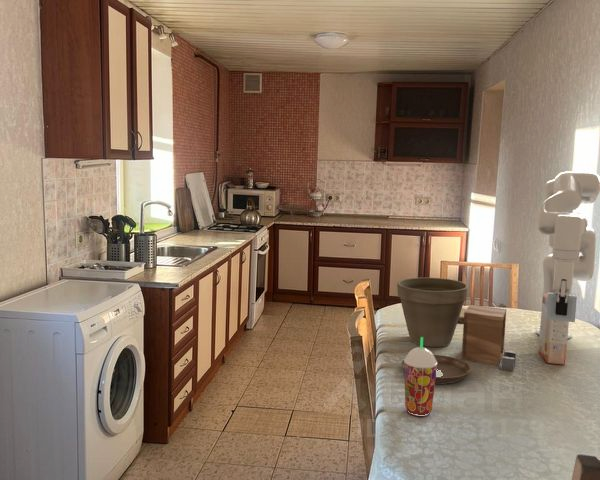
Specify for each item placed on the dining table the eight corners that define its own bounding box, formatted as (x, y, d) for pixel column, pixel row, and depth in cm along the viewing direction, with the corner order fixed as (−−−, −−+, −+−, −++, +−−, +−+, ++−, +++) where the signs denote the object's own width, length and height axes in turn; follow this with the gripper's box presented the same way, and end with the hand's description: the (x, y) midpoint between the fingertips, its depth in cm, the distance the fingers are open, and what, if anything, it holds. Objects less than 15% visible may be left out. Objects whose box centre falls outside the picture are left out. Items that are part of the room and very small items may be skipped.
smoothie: (398, 405, 149) (401, 332, 147) (428, 405, 150) (432, 332, 147) (406, 419, 141) (410, 342, 138) (439, 419, 142) (443, 342, 139)
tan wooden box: (467, 349, 198) (469, 304, 196) (503, 354, 193) (506, 309, 191) (461, 359, 187) (464, 312, 185) (499, 365, 182) (502, 317, 180)
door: (546, 316, 178) (548, 291, 177) (574, 320, 174) (576, 294, 173) (546, 319, 175) (548, 293, 174) (574, 322, 172) (576, 296, 171)
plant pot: (388, 346, 200) (390, 286, 197) (402, 328, 223) (404, 274, 220) (460, 356, 191) (464, 293, 188) (468, 336, 213) (471, 280, 211)
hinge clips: (501, 361, 186) (502, 350, 185) (515, 363, 184) (516, 352, 183) (498, 369, 178) (499, 357, 178) (513, 371, 177) (514, 359, 176)
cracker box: (566, 365, 183) (571, 302, 181) (546, 363, 185) (551, 301, 182) (555, 352, 197) (560, 293, 194) (537, 350, 198) (542, 292, 196)
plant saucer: (394, 381, 167) (395, 370, 167) (407, 360, 186) (408, 350, 186) (466, 392, 160) (467, 381, 159) (472, 369, 179) (473, 359, 179)
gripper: (552, 250, 181) (548, 306, 183) (551, 257, 166) (547, 318, 169) (578, 252, 178) (574, 309, 180) (580, 259, 163) (574, 321, 166)
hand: (561, 313), depth 175 cm, fingers closed on door, 3 cm apart
